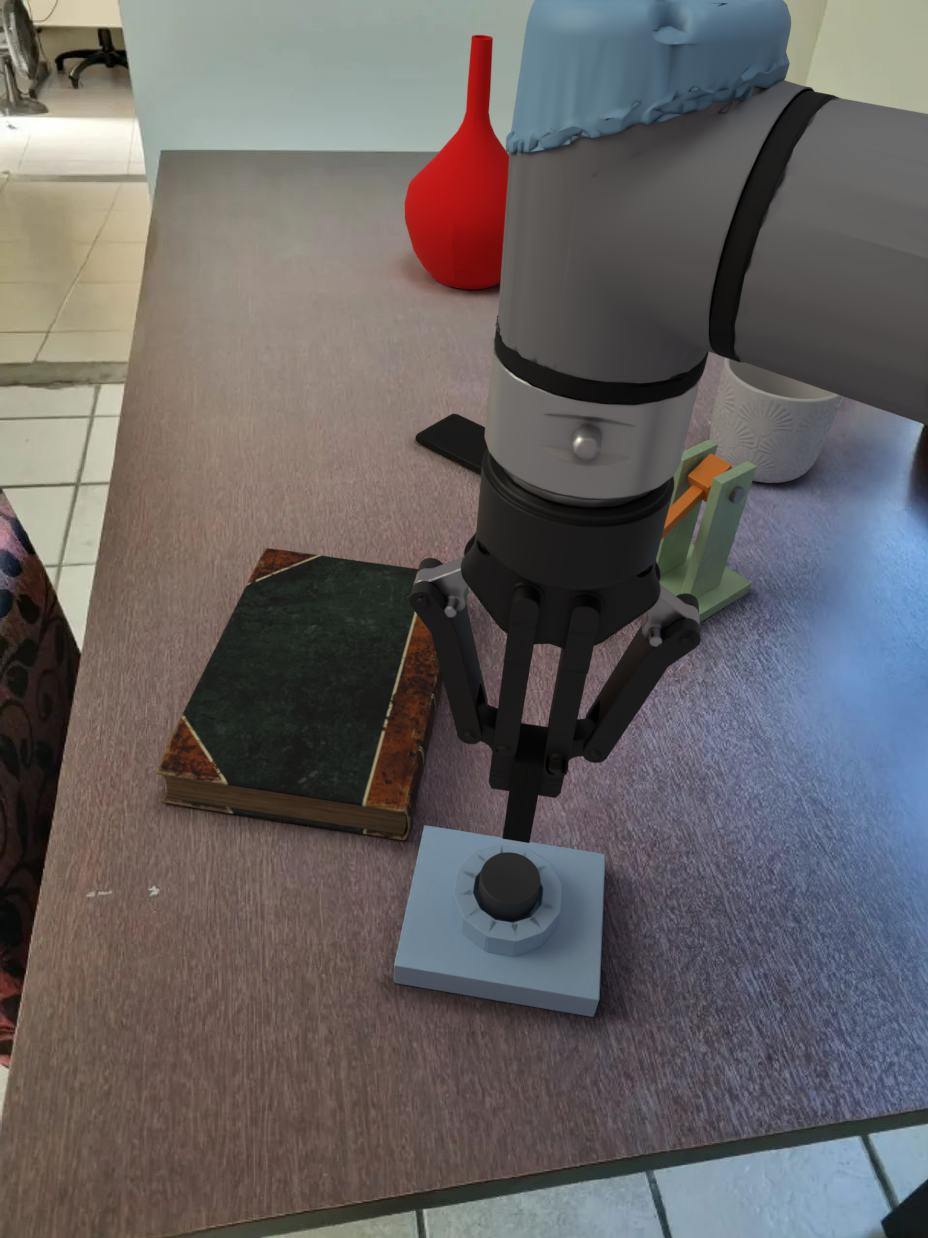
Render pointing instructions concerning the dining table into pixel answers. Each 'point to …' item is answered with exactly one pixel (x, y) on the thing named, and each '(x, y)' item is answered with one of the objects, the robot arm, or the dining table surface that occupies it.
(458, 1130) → the dining table surface
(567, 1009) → the button housing
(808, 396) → the planter
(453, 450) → the smartphone
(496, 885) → the button
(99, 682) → the dining table surface
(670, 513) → the switch lever
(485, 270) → the vase
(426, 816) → the dining table surface
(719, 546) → the switch bracket
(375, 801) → the book
